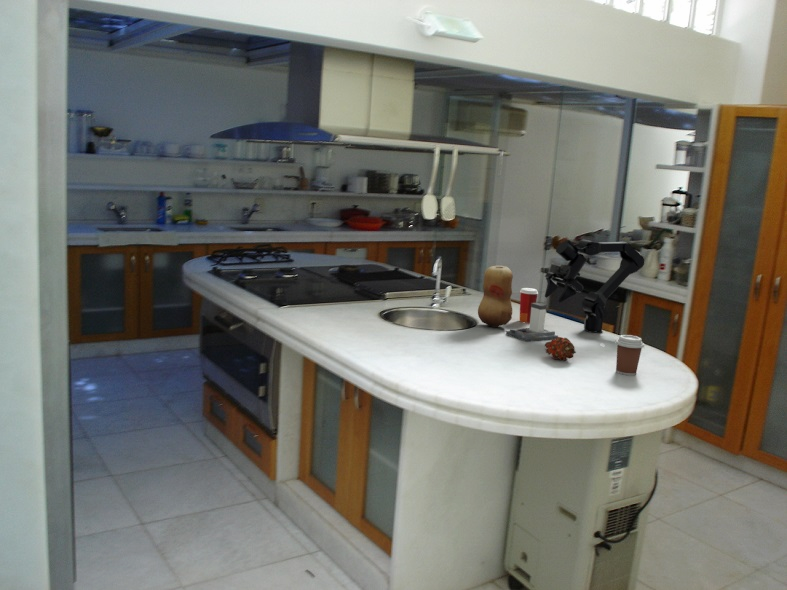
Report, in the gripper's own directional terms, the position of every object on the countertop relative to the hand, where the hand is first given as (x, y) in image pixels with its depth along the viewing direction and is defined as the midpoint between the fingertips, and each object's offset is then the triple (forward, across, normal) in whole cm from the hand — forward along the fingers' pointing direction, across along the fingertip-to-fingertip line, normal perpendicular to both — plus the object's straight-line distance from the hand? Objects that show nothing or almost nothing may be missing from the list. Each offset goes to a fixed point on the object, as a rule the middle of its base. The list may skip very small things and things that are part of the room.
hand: (552, 299), depth 289 cm
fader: (+15, +5, -1) cm, 16 cm away
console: (+17, +5, -2) cm, 18 cm away
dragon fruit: (+22, +34, -9) cm, 42 cm away
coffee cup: (+15, +53, +3) cm, 55 cm away
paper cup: (+11, -19, +9) cm, 23 cm away
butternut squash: (+22, -12, -8) cm, 26 cm away
